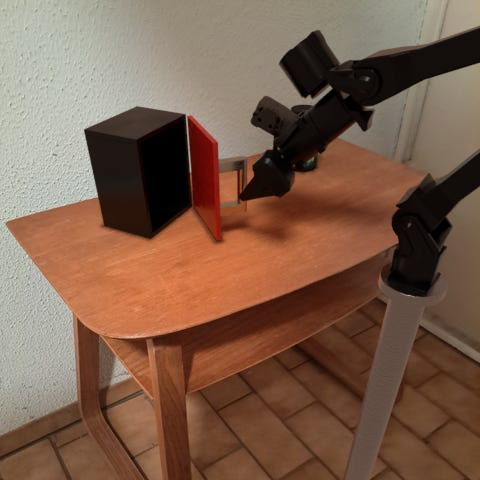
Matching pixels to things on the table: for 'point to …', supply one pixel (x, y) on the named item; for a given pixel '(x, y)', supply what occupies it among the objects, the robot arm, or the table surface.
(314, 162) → the beverage can
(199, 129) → the door
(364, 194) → the table surface
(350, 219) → the table surface
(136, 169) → the black cabinet
